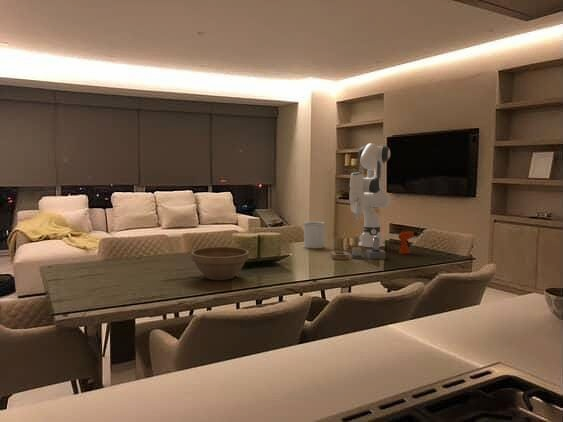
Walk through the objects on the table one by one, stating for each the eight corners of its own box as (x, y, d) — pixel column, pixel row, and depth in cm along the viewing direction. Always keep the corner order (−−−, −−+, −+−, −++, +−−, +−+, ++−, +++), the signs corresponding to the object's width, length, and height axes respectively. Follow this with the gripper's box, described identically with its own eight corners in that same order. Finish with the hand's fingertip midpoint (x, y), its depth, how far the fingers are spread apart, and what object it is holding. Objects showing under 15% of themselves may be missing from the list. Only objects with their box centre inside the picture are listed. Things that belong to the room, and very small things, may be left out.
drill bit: (371, 256, 288) (372, 235, 287) (378, 256, 288) (378, 235, 287) (373, 257, 284) (373, 236, 283) (379, 257, 284) (380, 236, 283)
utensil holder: (301, 245, 332) (302, 221, 330) (322, 245, 333) (322, 221, 332) (305, 248, 317) (305, 223, 316) (326, 248, 319) (326, 223, 317)
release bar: (352, 256, 288) (352, 247, 287) (360, 256, 288) (360, 247, 288) (353, 257, 284) (353, 248, 283) (361, 257, 284) (361, 248, 284)
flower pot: (254, 281, 221) (254, 254, 220) (194, 285, 213) (194, 257, 212) (242, 269, 248) (242, 245, 247) (189, 272, 240) (188, 247, 239)
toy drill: (427, 250, 303) (425, 228, 301) (401, 255, 299) (399, 232, 297) (423, 249, 307) (421, 227, 306) (397, 254, 304) (395, 231, 302)
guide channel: (347, 254, 296) (347, 252, 296) (359, 254, 296) (359, 252, 296) (351, 258, 282) (351, 256, 281) (364, 258, 282) (364, 256, 282)
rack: (330, 256, 289) (330, 251, 288) (346, 256, 289) (346, 251, 289) (332, 259, 279) (332, 254, 278) (349, 259, 279) (349, 254, 279)
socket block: (366, 255, 291) (366, 249, 291) (381, 255, 291) (381, 249, 291) (369, 258, 281) (369, 252, 281) (385, 258, 281) (385, 252, 281)
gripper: (365, 198, 277) (364, 221, 278) (358, 197, 297) (358, 218, 298) (354, 198, 276) (354, 221, 278) (348, 197, 297) (348, 218, 298)
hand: (356, 219), depth 288 cm, fingers open, 3 cm apart
